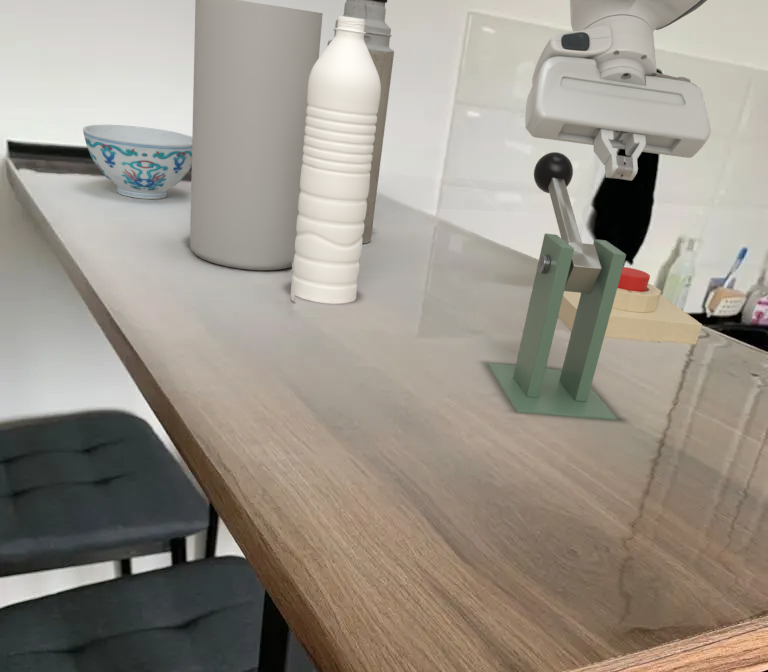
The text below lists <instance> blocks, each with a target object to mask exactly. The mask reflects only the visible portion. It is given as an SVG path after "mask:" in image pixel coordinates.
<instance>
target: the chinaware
mask: <svg viewBox="0 0 768 672" xmlns="http://www.w3.org/2000/svg"><path fill="white" fill-rule="evenodd" d="M82 132H83V137H84V141H85V144H86V147H87V150H88V152H89V156H90V157H91V159H92V161H93V163H94V165H95V166H96V167H97V169H98V170H99V171H100V173H102V175H103V176H104V177H105V178H106V179H108V180H109V181H110V182H111V183H112V184H114V185H116V192H117V193H118V194H119V195H122V196H125V197H129V198H136V199H142V200H143V199H144V200H158V199H165V198H167V196H168V190H170V189H171V188H173V187H175V186H176V185H178V184H179V183H180V182H181V181H182V180H183V179H184V178H185V177H186V175H187V174H188V173H189V171H190V170H191V169H192V135H189V134H184V133H181V132H177V131H171V130H165V129H160V128H153V127H145V126H135V125H127V124H126V125H125V124H91V125H86V126H84V127H83V128H82Z"/></svg>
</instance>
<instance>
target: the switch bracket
mask: <svg viewBox="0 0 768 672" xmlns="http://www.w3.org/2000/svg"><path fill="white" fill-rule="evenodd" d="M592 245H595V248H596V251H597V254H598V258H599V261H600V265H601V268H602V269H601V272H600V274H599V276H598V278H597V280H596V282H595V284H594V287H593V289H592V291H591V293H590V294H588V293H581V296H580V300H579V304H578V308H577V312H576V316H575V320H574V324H573V328H572V331H571V332H570V336H569V341H568V344H567V349H566V353H565V357H564V360H563V364H562V368H561V369H558V368H549V367H548V368H547V365H548V360H549V356H550V353H551V348H552V344H553V340H554V336H555V332H556V327H557V323H558V320H559V319H558V318H559V317H558V315H559V311H560V307H561V302H562V298H563V294H564V290H565V286H566V281H567V277H568V273H569V269H570V265H571V260H572V256H573V252H574V248H573V247H572V246H570V245H569V244H568V243H566V242H565V241H564V240H563V239H561V236H560V235H558V234H553V233H544V234H543V240H542V244H541V248H540V252H539V253H540V254H539V257H538V263H537V267H536V272H535V275H534V280H533V285H532V291H531V294H530V298H529V303H528V308H527V312H526V315H525V316H526V317H525V322H524V326H523V330H522V336H521V340H520V344H519V348H518V353H517V358H516V362H515V364H513V365H512V364H503V363H502V364H501V363H491V362H488V363H487V367H488V369H489V370H490V371H491V373H492V374H493V376H494V378H495V380H496V382H497V383H498V384H499V387H500V388H501V391H503V393H504V394H505V396H506V398H507V400H508V401H509V403H510V404H511V406H512V407H513V409H514V411H515V412H516V413H517V414H528V415H540V416H552V417H553V416H554V417H564V418H565V417H567V418H579V419H591V420H603V421H617V420H618V419H617V417H616V415H615V414H614V413H613V412H612V411H611V409H610V408H609V407H608V406H607V404H605V402H604V401H603V400H602V399H601V397H600V396H599V395H598V394H597V393H596V392H595V391H594V389H593V388H592V384H593V380H594V378H595V377H594V376H595V373H596V370H597V365H598V362H599V358H600V355H601V350H602V346H603V343H604V341H605V337H604V336H605V332H606V329H607V325H608V321H609V317H610V314H611V310H612V306H613V303H614V299H615V295H616V291H617V288H618V284H619V280H620V276H621V273H622V269H623V267H624V264H625V261H626V257H627V254H626V253H625V252H623V251H622V250H621V249H619V248H618V247H617V246H614V244H611V242H609V241H607V240H604V239H598V238H597V239H594V240H593V243H592Z"/></svg>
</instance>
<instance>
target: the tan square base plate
mask: <svg viewBox="0 0 768 672" xmlns="http://www.w3.org/2000/svg"><path fill="white" fill-rule="evenodd" d="M580 296H581V293H578V292H569V291H564V294H563V298H562V302H561V307H560V311H559V315H558V318H559V319H560V321H562V323H563V324H564V325H565V326H566V327H567V328H568V329H569V330H570V331H571V332H572V328H573V324H574V320H575V316H576V312H577V308H578V304H579V300H580ZM702 327H703V324H702V323H701V322H699V321H698V320H697V319H695V318H694V317H693V316H691V315H690V314H689V313H687V312H686V311H684V310H683V309H681V308H680V307H679V306H677V304H675V303H674V302H672V301H670V300H669V299H668V298H667V297H666V296H664V295H662V290H661V289H659V288H658V287H656V286H655V285H653V284H650V283H648V286H647V289H646V292H637V291H629V290H624V289H620V288H617V291H616V295H615V299H614V303H613V306H612V310H611V314H610V317H609V321H608V325H607V329H606V332H605V336H604V338H611V339H622V340H630V341H631V340H632V341H640V342H641V341H642V342H651V343H652V342H653V343H661V342H662V343H663V342H664V343H675V344H684V345H694V346H696V345H697V342H698V340H699V337H700V333H701V330H702Z"/></svg>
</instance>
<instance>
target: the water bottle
mask: <svg viewBox="0 0 768 672" xmlns="http://www.w3.org/2000/svg"><path fill="white" fill-rule="evenodd" d="M337 19H338V25H337V27H338V28H335V27H334V29H336V35H335V37H333V38H332V39H331V40H332V41H331V42H330V44H329V45H328V44H327V45H328V46H327V47H326V48H325V49H324V50H323V52H322V53H321V55H319V59H318V60H317V61H316V63H315V64H314V66H313V68H312V70H311V73H310V76H309V81H308V95H307V103H308V106H307V108H306V113H307V116H306V120H305V122H306V126H305V134H306V135H305V136H304V143H305V145H304V146H303V152H304V154H303V157H302V161H303V164H302V168H301V176H300V189H301V192H300V194H299V200H298V211H299V214H298V217H297V225H296V232H297V236H296V239H295V251H296V253H295V255H294V261H293V262H292V271H293V274H292V276H291V285H290V286H291V287H290V299H291V301H292V302H293V303H294V304H296V303H297V302H296V297H298V298H301V299H304V300H307V301H310V302H314V303H321V304H332V305H333V304H334V305H335V304H337V305H339V304H340V305H341V304H348V303H351V302H354V301H355V300H356V299H357V294H358V278H359V274H360V267H361V266H360V263H361V262H360V259H361V257H362V251H363V244H362V241H363V238H362V234H363V232H364V223H363V222H364V220H365V216H366V210H367V201H366V198H367V197H368V193H369V184H370V173H369V172H370V170H371V161H372V152H373V149H374V146H373V143H374V140H375V136H374V133H375V131H376V126H375V124H376V122H377V116H376V114H377V113H378V108H379V102H380V94H381V84H380V78H379V75H378V72H377V70H376V67H375V65H374V63H373V60H372V58H371V56H370V53H369V51H368V49H367V46H366V44H365V42H364V33H366V32H363V31H364V28H365V20H363V19H357V18H351V17H344V16H343V15H338V16H337Z"/></svg>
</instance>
